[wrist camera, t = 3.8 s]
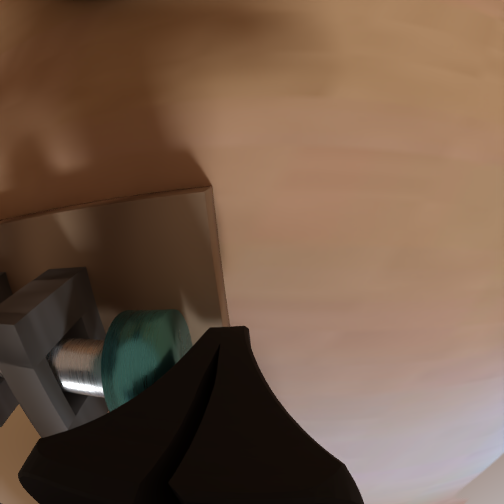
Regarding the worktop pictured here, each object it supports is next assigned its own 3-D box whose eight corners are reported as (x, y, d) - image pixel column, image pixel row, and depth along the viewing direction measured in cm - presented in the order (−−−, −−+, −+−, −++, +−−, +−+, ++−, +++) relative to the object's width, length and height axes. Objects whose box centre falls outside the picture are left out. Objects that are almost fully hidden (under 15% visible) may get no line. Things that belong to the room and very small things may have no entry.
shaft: (180, 287, 10) (140, 360, 7) (200, 379, 12) (180, 459, 8) (-54, 291, 11) (-97, 321, 8) (-30, 351, 13) (-66, 386, 9)
